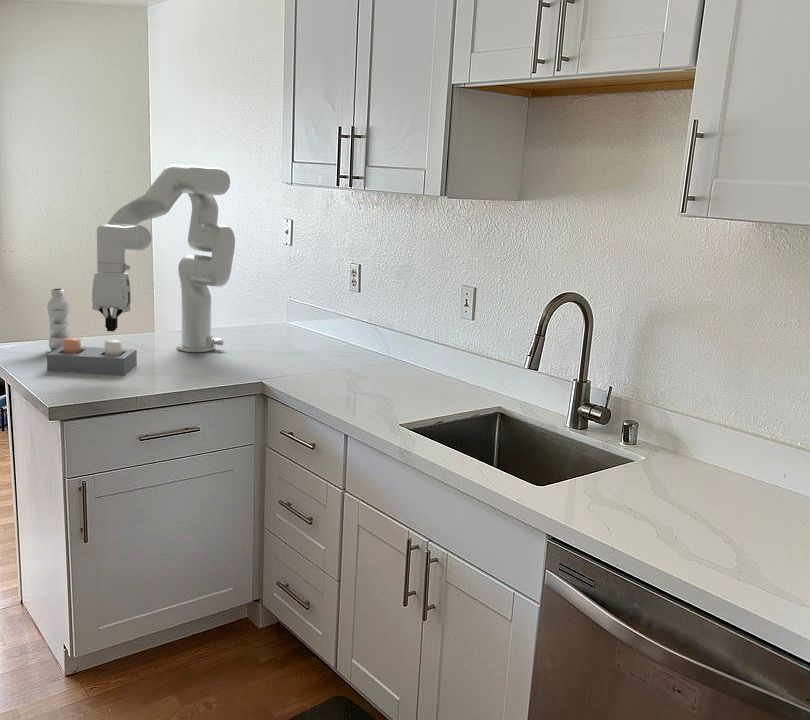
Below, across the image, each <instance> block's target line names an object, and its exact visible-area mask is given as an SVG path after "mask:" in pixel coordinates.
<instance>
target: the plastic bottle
mask: <svg viewBox="0 0 810 720" xmlns="http://www.w3.org/2000/svg"><path fill="white" fill-rule="evenodd" d="M50 291H51V292H50V294H51V295H50V296H51V298H50V299H49V301H48V302H47V305H46V308H47V314H48V318H49V319H48V321H49V339H48V347H49V349H50V351H51V352H52V351H54V350H56V349H58V348H60V347H61V346H63V339H65V338H71V337H70V331H69V311H70V304H69V301H68V300H67V299H66V298H65V297H64V296H65V288H51V290H50Z"/></svg>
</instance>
